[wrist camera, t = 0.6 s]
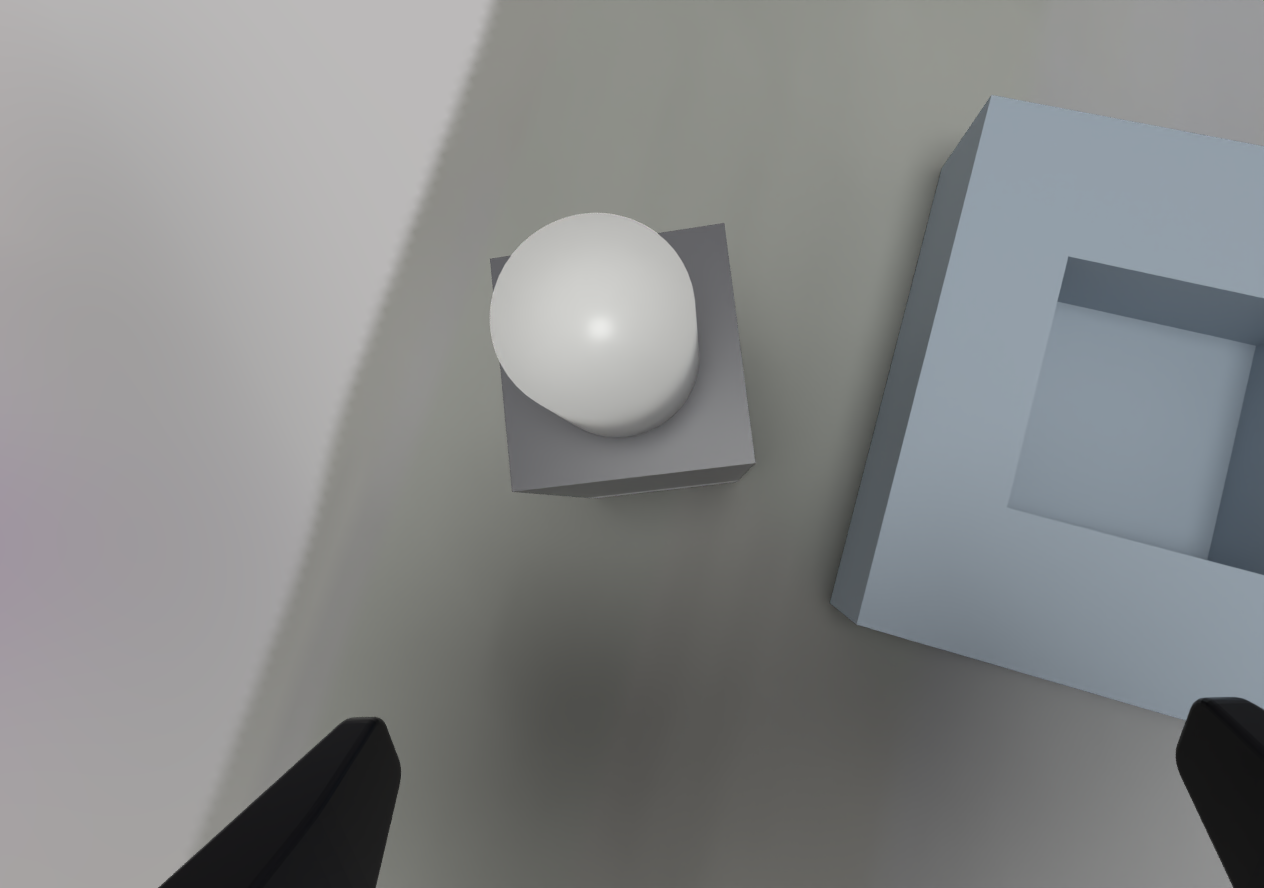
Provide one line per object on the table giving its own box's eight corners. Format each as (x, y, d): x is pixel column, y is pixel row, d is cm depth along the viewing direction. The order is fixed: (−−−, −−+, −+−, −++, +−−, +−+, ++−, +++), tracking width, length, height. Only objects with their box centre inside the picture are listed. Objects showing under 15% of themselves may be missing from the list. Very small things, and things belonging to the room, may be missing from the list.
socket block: (1254, 725, 20) (1390, 779, 16) (830, 603, 21) (856, 624, 17) (1359, 253, 21) (1512, 193, 17) (941, 168, 22) (991, 95, 18)
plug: (736, 482, 22) (769, 449, 10) (595, 498, 23) (454, 487, 10) (718, 341, 23) (727, 139, 10) (580, 360, 23) (428, 189, 11)
